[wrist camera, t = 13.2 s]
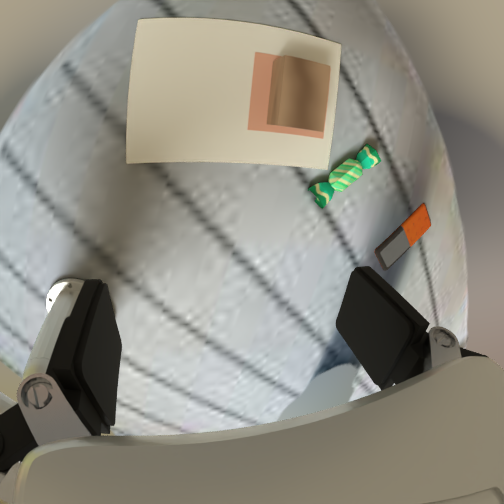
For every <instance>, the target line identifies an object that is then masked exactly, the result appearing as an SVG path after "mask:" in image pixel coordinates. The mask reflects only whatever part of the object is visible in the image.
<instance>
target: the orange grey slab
mask: <svg viewBox="0 0 504 504" xmlns="http://www.w3.org/2000/svg"><path fill="white" fill-rule="evenodd" d="M430 226H431V222H430V219H429V216H428V212H427V209H426V206H425V204H421V205H420V206H419V207H418V208H417V209H416V210H415V211H414V212H413V213H412V215H411V216H410V217H409V218H408V219H406V220H405V221H404V222H403V223H402V224H401V225H400V226H399V227H398V228H397V229H396V230H395V231H394V232H393V233H392V234H391V235H390V236H389V237H388V238H387V239H386V240H385V241H384V242H383V243H382V244H381V245H379V246H378V247H377V248H376V249H375V251H374V252H375V255H376V256H377V258H378V260H379V262H380V264H381V266H382V268H383V270H387V269H389V268H390V267H391V266H392V265H393V264H394V263H395V262H396V261H397V260H398V259H399V258H400V257H401V256H402V255H403V254H404V253H405V252H406V251H407V250H408V249H409V248H410V247H411V246H412V245H413V244H414V243H415V242H416V241H417V240H418V239H419V238H420V237H421V236H422V235H423V234H424V233H425V232H426V231H427V230H428V229H429V227H430Z"/></svg>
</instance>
